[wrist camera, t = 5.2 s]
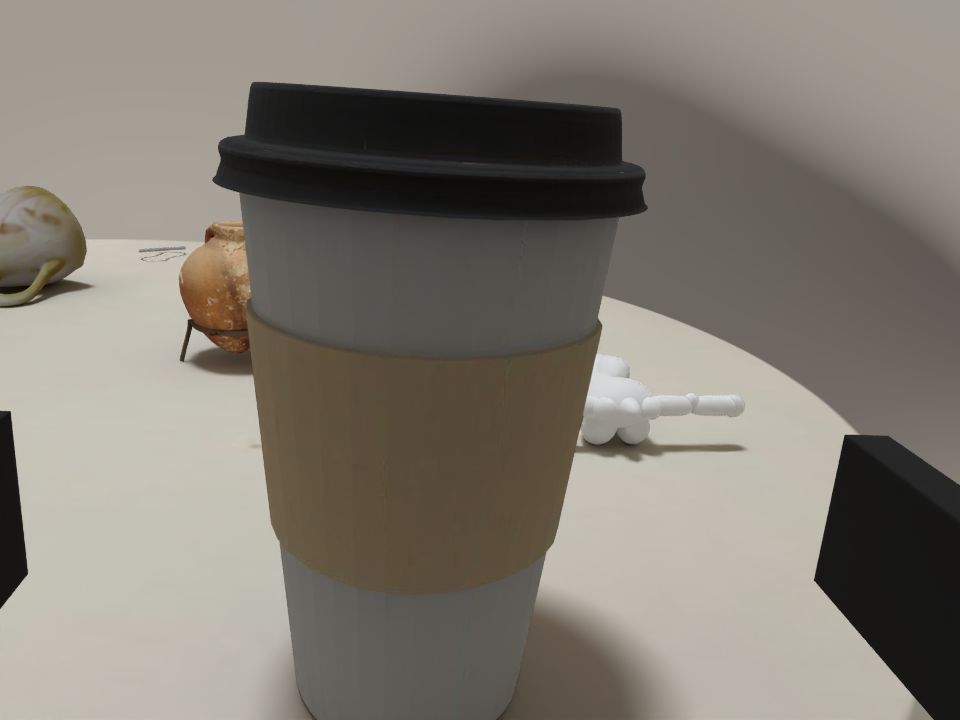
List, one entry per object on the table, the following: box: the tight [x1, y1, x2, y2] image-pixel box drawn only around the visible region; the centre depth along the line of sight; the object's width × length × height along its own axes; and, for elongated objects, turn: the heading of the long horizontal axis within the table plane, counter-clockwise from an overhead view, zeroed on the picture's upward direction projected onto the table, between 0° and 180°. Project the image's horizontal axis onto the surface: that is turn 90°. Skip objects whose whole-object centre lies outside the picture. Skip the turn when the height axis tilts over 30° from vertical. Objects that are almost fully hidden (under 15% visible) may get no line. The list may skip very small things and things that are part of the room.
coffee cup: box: [213, 82, 648, 720], centre depth 20 cm, size 9×9×15 cm
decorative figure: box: [581, 354, 745, 444], centre depth 45 cm, size 4×12×18 cm
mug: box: [0, 186, 87, 306], centre depth 58 cm, size 8×10×10 cm
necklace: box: [139, 246, 186, 252], centre depth 74 cm, size 2×5×1 cm, turn 167°
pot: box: [179, 222, 251, 361], centre depth 46 cm, size 6×8×6 cm
